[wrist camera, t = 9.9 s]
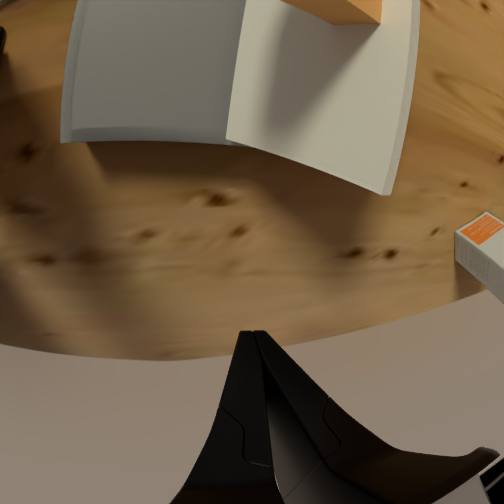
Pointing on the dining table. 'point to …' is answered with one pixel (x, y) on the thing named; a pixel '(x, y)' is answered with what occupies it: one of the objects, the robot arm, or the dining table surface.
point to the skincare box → (483, 251)
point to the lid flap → (327, 84)
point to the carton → (151, 70)
